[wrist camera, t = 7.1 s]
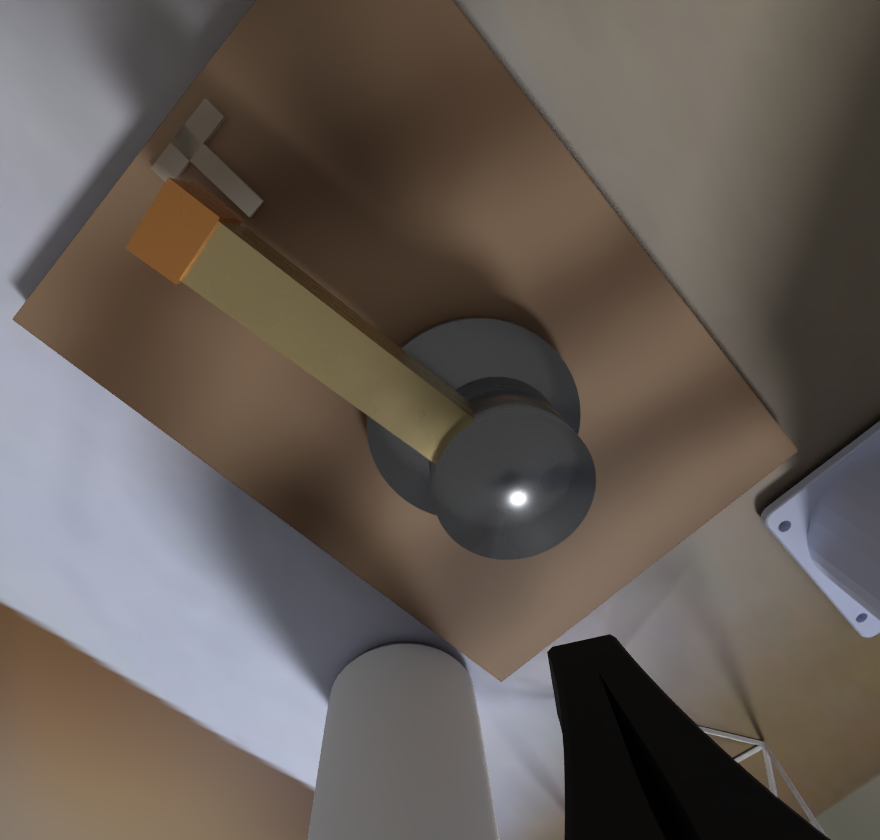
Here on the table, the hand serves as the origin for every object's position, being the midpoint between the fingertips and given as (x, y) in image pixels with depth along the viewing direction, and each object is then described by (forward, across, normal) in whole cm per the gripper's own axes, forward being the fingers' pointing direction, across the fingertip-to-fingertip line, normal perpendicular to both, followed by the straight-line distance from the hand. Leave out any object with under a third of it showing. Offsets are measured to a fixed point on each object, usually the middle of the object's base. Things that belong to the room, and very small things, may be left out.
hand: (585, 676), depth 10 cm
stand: (+9, +1, -4) cm, 10 cm away
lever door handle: (+8, +3, -5) cm, 10 cm away
